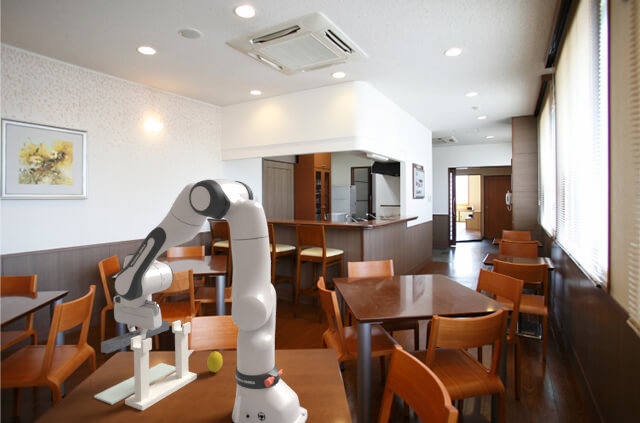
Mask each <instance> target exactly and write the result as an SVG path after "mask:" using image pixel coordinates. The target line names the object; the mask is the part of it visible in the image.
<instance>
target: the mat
mask: <svg viewBox="0 0 640 423" xmlns="http://www.w3.org/2000/svg"><path fill="white" fill-rule="evenodd" d="M175 372H176V366H174V365H170V364H167V363H164V362H160V363H158V364H156V365H154V366H152V367H149V385H152V384H154V383H156V382H158V381H160V380H162V379H164V378H165V377H167V376H169V375H171V374H173V373H175ZM134 394H135V383H134V376H131V377H129V378H128V379H125V380H123V381H122V382H119V383H118V384H116V385H113V386H111V387H109V388H107V389H104V390H103V391H101V392H99V393H97V394H95V395H93V396H94V397H93V398H94V399H97V400H99V401H102V402H104V403H107V404H110V405H114V404H116V403H118V402H120V401H121V400H124V399H126V398H128V397H130V396H132V395H134Z"/></svg>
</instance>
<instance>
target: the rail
mask: <svg viewBox="0 0 640 423" xmlns="http://www.w3.org/2000/svg"><path fill="white" fill-rule="evenodd" d="M169 330H170V321H169V320H168V321H167V320H165V319H163V320H162V325H161V327H160V328H157V329H155V330H149V329H148V330H147V332H146V338H145V339H147V338H152V337H154V336H156V335H158V334H161V333H163V332H166V331H169ZM141 331H142V330H140V328H138V329H136V330H135V331H132V332H130V331H129V332H126V333H124V334H121V335H117V336H115V337H113V338H110V339H107V340H105V341H101V342H100V352H101V353H104V354H109V353H113V352H115V351H118V350H120V349H122V348H125V347H127V346H131V338H133V337H136V336H138V335H139V334H140V333H141ZM145 339H144V340H145ZM141 341H142V339H141Z"/></svg>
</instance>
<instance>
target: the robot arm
mask: <svg viewBox="0 0 640 423" xmlns="http://www.w3.org/2000/svg"><path fill="white" fill-rule="evenodd" d="M208 218H211V219H215V220H217V221H220V220H223V219H224V220H226V221H227V223H228V226H229V231H230V232H229V233H230V246H231V247H230V248H231V257H232V283H231V285H232V286H231V320H232V321H233V323H234V324H235V326H236V327H237V328H238V330H237V331H238V333H237V339H236V365H237V366H236V368H235V382H236V392H235V398H234V399H235V400H234V405H233V410H232V413H231V419H232V422H234V423H306V421H307V419H308V410H307V409H306V408H304V407H302V406H300V401H299V397H298V394H297V393H296V392H295V391H294V390H293V389H292V388H291V387H290V386H289V385H287V383H286V382H285V381H283V379H282V378H281V375H282V374H283V368H282V369H280V370H279V369H278V367H277V364H276V363H275V362H276V361H275V359H276V358H275V357H276V356H275V354H276V353H275V352H276V351H275V341H276V340H275V337H276V336H275V335H276V315H277V313H276V312H277V293H276V289H275V287H274V285H273V284H272V282H271V281H272V280H271V279H272V276H271V273H272V272H271V270H272V269H271V268H272V264H271V263H272V259H271V248H270V236H269V227H268V221H267V217H266V213H265V209H264V207H263V205H262V204H261V203H260V202H259V201H257V200H254V192H253V190H252V189H251V187H250V186H249V185H247V184H246V183H244V182H242V181H239V180H230V179H229V180H228V179H224V178H220V179H209V178H208V179H204V180H200V181H198V182H193V183H188V184H186V186H185V187H183V189H182V190H181V192H179V194H178V195H177V197H176V198H175V200H174V202H173V204H172V205H171V207H170V208H169V211H168V212H167V214H166V216H165V217H164V218H163V219H162V220H161V222H160V223H158V225H157V226H155V228H153V229H152V230H151V231H150V232H149V233H148V234H147V235H146V237H145V238H144V239H143V241H142V242H141V243H140V245H139V247H138V248H137V249H136V252H134V253H129V254H127V255H126V256H125V258H124V262H123V267H122V269H121V270H119V272H118V273H117V275H116V277H115V280H114V287H113V288H114V291H115V292H116V294H117V295H115V296H114V297H113V302H114V305H113V313H114V314H113V316H114V320H115V321H116V322H117V323H121V324H126V325H127V329H128V331H129V332H132V331H135V330H137V329H136V327H139V329H140V330H142V331H141V333H140V334H139V335H141V339H142V340H145V338H146V332H147V330H148V329H149V330H155V329H157V328H160V327H161V325H162V321H163V320H162V313H161V312H162V311H161V308H160V306H159V304H158V303H157V301H154V300H152V298H153V297H152V294H156V293H159V292H163V291H166V290H168V289H169V288H170V287H172V284H173V281H174V271H173V269H172V268H171V266H170V265H168V263H166V262H165V263H164V262H161V261H158V260H157V259H158V257H159V256H161V255H162V254H163V253H164V252H166V251H169V250H170V249H172V248H174V247H177V246H180V245H183V244H186V243H188V242H190V241H192V240H193V239H194V238H195V237H196V236H197V235H198V234H199V233H200V231H201V230H202V229H203V227H204V224H205V223H206V220H207V219H208ZM146 339H147V338H146ZM142 340H141V341H142Z"/></svg>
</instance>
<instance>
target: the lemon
mask: <svg viewBox="0 0 640 423" xmlns="http://www.w3.org/2000/svg"><path fill="white" fill-rule="evenodd" d="M223 359H224V358H223V356H222V354H221V353H220V352H218V351H216V350H215V351H212V352H210V353H209V355H208V356H207V360H206V367H207V368H208V370H209V371H210V372H212V373H217V372H218V371H219V370H221V368H222V366H223V363H224V362H223Z"/></svg>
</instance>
